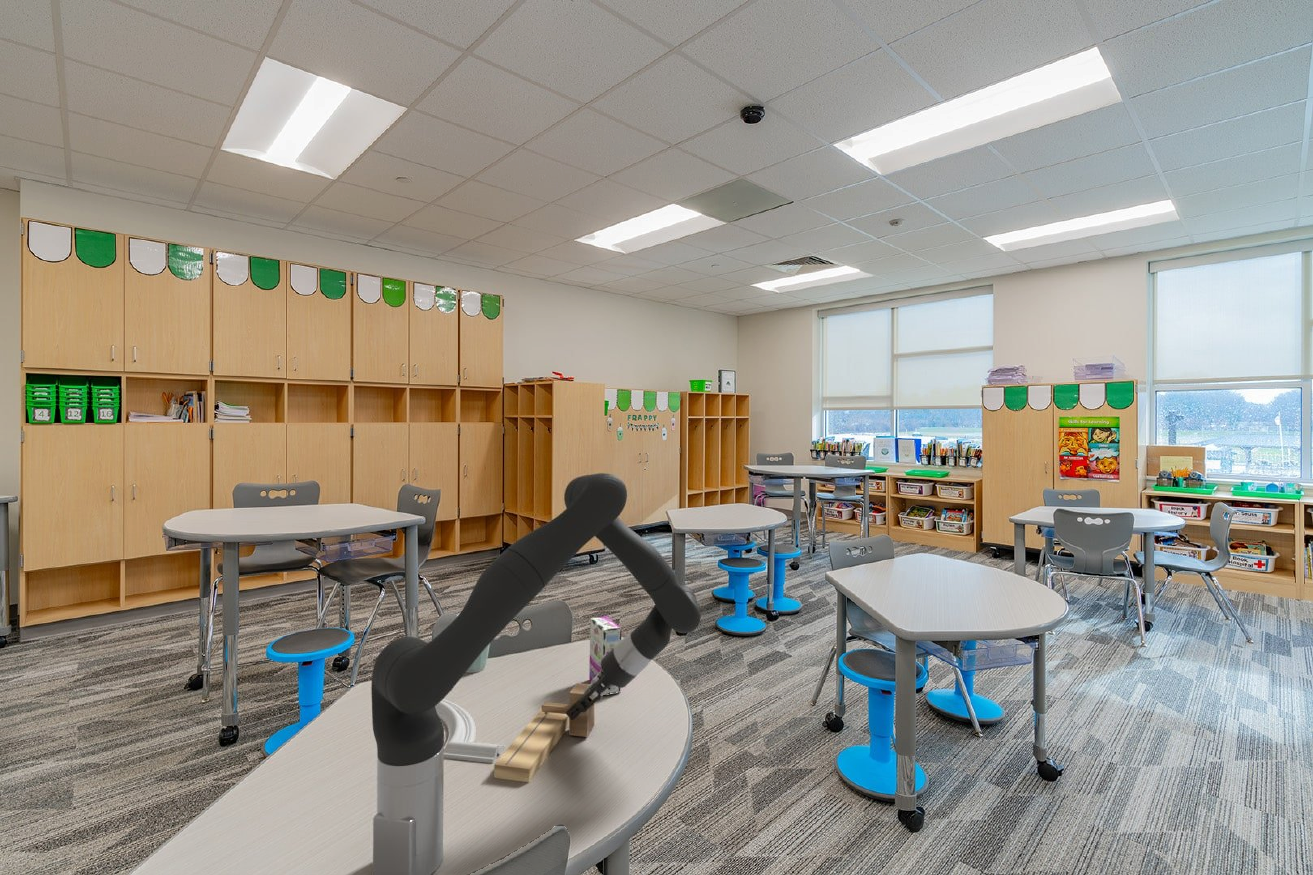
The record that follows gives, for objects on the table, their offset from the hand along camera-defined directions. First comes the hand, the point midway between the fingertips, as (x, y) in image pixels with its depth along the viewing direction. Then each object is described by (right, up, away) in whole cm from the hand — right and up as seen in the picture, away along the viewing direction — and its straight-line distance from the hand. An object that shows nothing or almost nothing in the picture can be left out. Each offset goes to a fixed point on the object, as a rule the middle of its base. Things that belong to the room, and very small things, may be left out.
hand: (573, 709), depth 128 cm
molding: (-26, -5, +5) cm, 27 cm away
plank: (-7, -5, -6) cm, 10 cm away
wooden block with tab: (-2, -4, 0) cm, 5 cm away
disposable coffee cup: (-32, -4, +33) cm, 46 cm away
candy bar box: (+5, -5, +23) cm, 24 cm away
